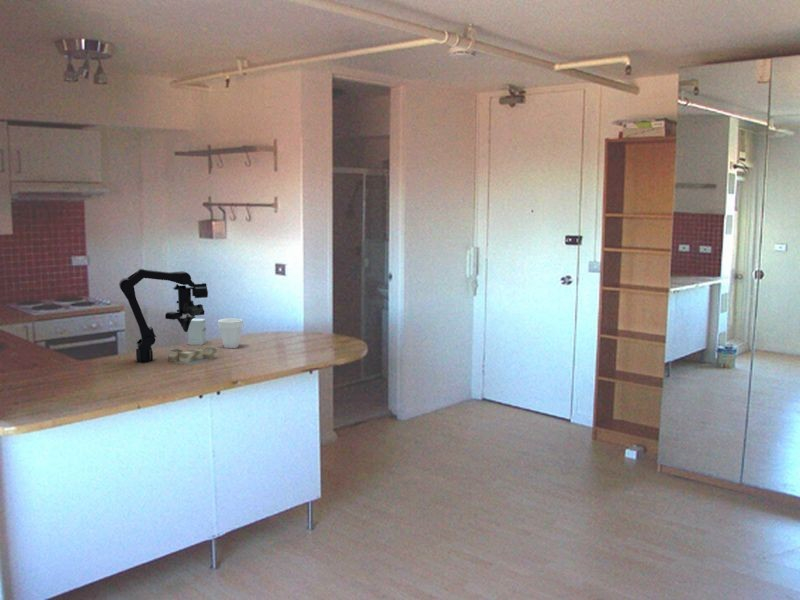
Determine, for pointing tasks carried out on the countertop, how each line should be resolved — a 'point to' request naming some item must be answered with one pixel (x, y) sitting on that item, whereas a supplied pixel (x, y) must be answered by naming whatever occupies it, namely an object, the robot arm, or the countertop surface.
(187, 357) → the plain bar
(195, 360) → the mat
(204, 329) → the supplement box
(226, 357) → the countertop surface
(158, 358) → the countertop surface
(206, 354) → the number block
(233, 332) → the cup
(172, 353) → the number block
